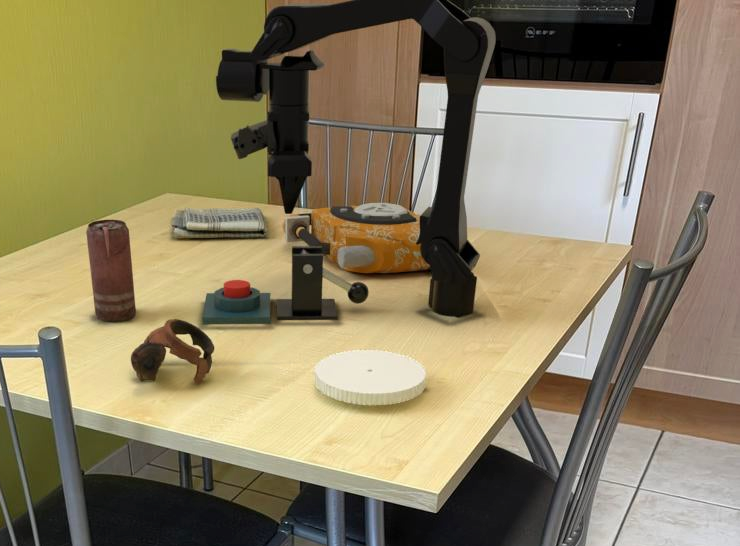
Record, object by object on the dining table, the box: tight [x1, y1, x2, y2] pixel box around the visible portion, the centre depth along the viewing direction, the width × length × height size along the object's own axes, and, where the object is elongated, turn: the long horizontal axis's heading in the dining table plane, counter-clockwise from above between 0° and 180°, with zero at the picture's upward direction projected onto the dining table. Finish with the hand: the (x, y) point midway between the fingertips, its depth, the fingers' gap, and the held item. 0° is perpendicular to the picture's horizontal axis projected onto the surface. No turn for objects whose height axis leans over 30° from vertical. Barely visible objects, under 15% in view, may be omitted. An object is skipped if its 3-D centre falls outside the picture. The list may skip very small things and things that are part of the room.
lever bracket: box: [276, 245, 339, 321], centre depth 138 cm, size 9×8×10 cm
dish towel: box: [170, 207, 269, 239], centre depth 183 cm, size 19×18×3 cm
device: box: [281, 202, 431, 274], centre depth 163 cm, size 23×8×30 cm
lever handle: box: [301, 250, 370, 304], centre depth 138 cm, size 12×3×3 cm
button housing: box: [201, 286, 271, 325], centre depth 140 cm, size 10×11×4 cm
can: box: [85, 219, 137, 323], centre depth 137 cm, size 6×6×14 cm
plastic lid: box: [313, 349, 427, 406], centre depth 117 cm, size 14×14×2 cm
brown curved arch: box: [130, 318, 215, 384], centre depth 119 cm, size 12×10×8 cm
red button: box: [223, 279, 251, 298], centre depth 139 cm, size 4×4×2 cm
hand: (288, 213), depth 142 cm, fingers closed
